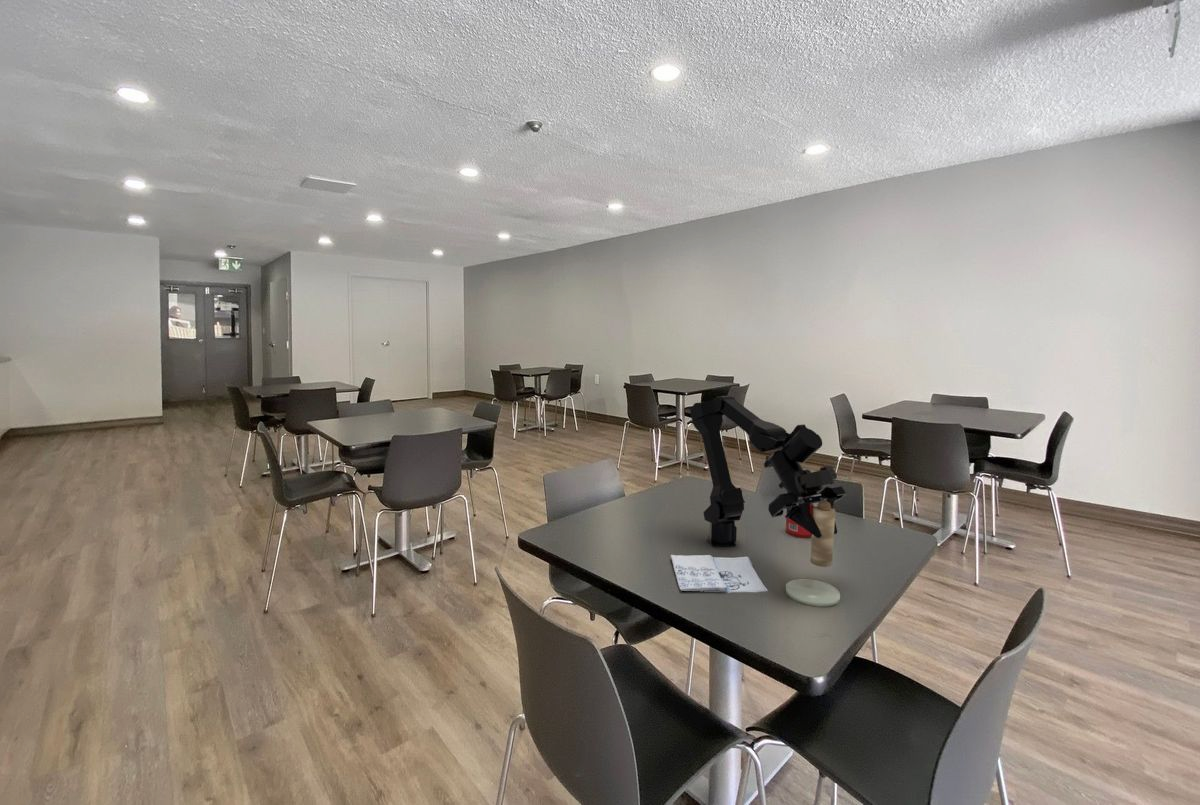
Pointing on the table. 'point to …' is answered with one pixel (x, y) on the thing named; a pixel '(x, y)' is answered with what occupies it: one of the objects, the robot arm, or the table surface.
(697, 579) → the open notebook
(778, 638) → the table surface
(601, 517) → the table surface
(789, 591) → the disc
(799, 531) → the canned food
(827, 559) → the pepper mill
